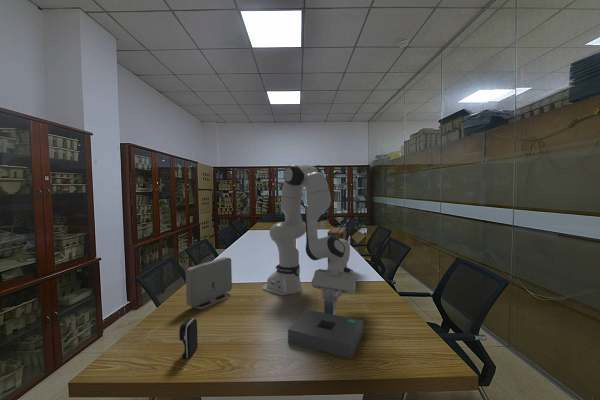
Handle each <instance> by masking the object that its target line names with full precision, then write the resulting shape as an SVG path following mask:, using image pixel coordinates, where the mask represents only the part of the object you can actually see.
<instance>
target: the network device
mask: <svg viewBox="0 0 600 400" xmlns="http://www.w3.org/2000/svg"><path fill="white" fill-rule="evenodd" d="M232 272H233V271H232V258H231V257H225V256H224V257H223V256H222V257H220V258H217V259H214V260H210V261H207V262H203V263H200V264H197V265H196V264H195V265H193V266H190V267H187V268H186V269H185V286H186V287H185V288H186V289H185V292H186V293H185V294H186V305H187V306H190V307H192V308H194V309H198V310H203V309H206V308H208V307H210V306H212V305H215V304H217V303H219V302H221V301H223V300H226V299H228V297H229V295H228V293H229V292H231V291H232V289H233V274H232ZM220 296H223V297H222V298H219V299H217V297H220ZM206 302H207V303H208V304H206V305H204V306H199V305H201V304H204V303H206Z"/></svg>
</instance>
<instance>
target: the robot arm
mask: <svg viewBox="0 0 600 400" xmlns="http://www.w3.org/2000/svg"><path fill="white" fill-rule="evenodd" d="M283 179H284V182H283V186H282V190H281V198H280V200H281V201H280V211H281V213H283V215H284V221H279V222H277V223H275V224H273V225H272V226H271V227H270V228H269V237H270V238H271V240H272V241H273V242H274V243H275V244H276V247H277V250H278V261H279V264H277V265H276V266H275V269H276V271H275V272H273V273H271V274H270V275H269V276H268V277H267V279H266V283H265V284H264V285H263V286H262V290H263V291H265V292H269V293H272V294H276V295H279V296H286V295H292V294H297V293H301V291H302V290H303V287H302V283H301V278H300V273H301V269H300V268H301V267H300V266H301V265H300V255H299V253H300V252H299V249H298V248H296V247H295V244H294V240H297V239H299V238H301V237H303V235H305V238H306V239H305V241H306V243H305V253H306V255H307V257H308V258H309V259H310V260H312V261H319V260H322V259H328V258H329V259H330V261H329V264H328V263H327V269H321V268H318V269H316V270H315V271H314V274H313V277H312V280H311V282H310V283H311V286H312V287H313V289H318V290H321V293H322V296H321V299H323V300H324V291H325V290H326V289H327V288H332V289H336V296H334V301H336V302H338V301H339V299H340V297H341V296H342V295H343V293H344V294H349V295H354V294H356V289H357V288H356V287H357V285H356V284H357V283H356V274H355V271H354V269H352V268H350V267H348V262H349V259H350V255H351V245H350V243H349V242H348V241H347V239H346V240H344V239H338V238H337V237H335V236H328V235H327V236H324V237H321V238H320V237H318V220H319V218H320V217H321V216H322V215H323V214H324V213H325V212H326V211H327V210H328V209H329V208H330V206H331V203H332V198H331V197H332V196H331V192H330V189H329V188H330V187H329V184H328V181H327V179H326V176H325V175H324V173H323V172H322V169H321V168H319V167H317V166H315V165H308V164H290V165H287V166H286V167H285V168H284V170H283ZM303 188H305V189H306V195H307V207H306V210H305V214H304V215H305V217H304V219H305V221H303V218H302V212H301V211H302V210H301V209H302V195H303V194H302V193H303Z"/></svg>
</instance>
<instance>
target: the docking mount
mask: <svg viewBox="0 0 600 400" xmlns="http://www.w3.org/2000/svg"><path fill="white" fill-rule="evenodd" d="M363 334H364V320H363V319H362V320H361V319H358V318H352V317H347V316H342V315H337V314H336V315H333V314H327V313H324V312H322V311H316V310H313V309H306V311H304V312H303V313H302V314H301V315H300V317H298V319H296V321H295V322H294V323H293V324H291V326H289V328H287V342H288V343H289V344H293V345H297V346H299V347H304V348H308V349H311V350H316V351H320V352H324V353H326V354H330V355H334V356H338V357H342V358H346V359H350V360H352V358H353V356H354V354H355V352H356V349H357V347H358V345H359V343H360V341H361V339H362V337H363Z"/></svg>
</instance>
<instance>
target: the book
mask: <svg viewBox="0 0 600 400" xmlns="http://www.w3.org/2000/svg"><path fill="white" fill-rule="evenodd" d="M328 236H335V237H337V238H338V239H344V240H346V241H347V226H345V227H334V226H331V228H330V229H329V230H328V231H327V237H328ZM329 261H330V259H329V258H327V265H328V264H329Z"/></svg>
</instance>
